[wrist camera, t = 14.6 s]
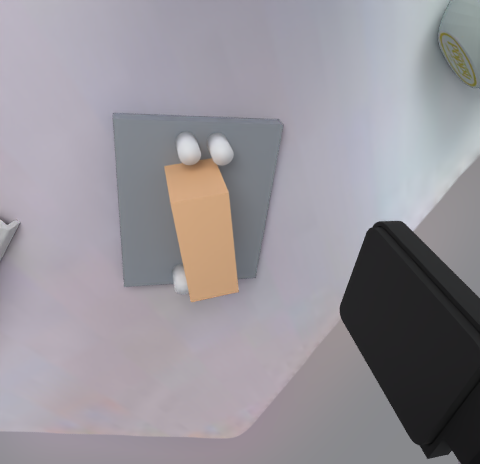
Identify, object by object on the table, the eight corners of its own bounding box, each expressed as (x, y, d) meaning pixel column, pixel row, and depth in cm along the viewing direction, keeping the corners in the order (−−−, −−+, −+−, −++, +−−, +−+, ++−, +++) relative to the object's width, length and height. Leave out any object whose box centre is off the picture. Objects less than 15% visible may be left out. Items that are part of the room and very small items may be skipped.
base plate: (113, 113, 36) (111, 131, 32) (278, 119, 40) (293, 136, 36) (124, 278, 47) (124, 305, 43) (252, 270, 51) (261, 294, 48)
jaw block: (164, 166, 38) (170, 202, 33) (214, 157, 39) (228, 192, 33) (183, 259, 45) (190, 302, 40) (225, 250, 46) (238, 291, 41)
